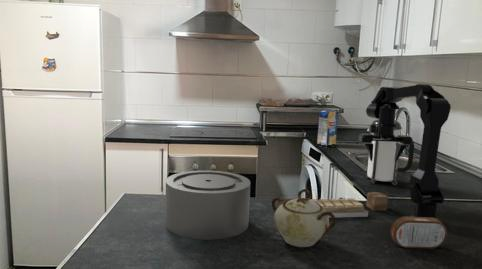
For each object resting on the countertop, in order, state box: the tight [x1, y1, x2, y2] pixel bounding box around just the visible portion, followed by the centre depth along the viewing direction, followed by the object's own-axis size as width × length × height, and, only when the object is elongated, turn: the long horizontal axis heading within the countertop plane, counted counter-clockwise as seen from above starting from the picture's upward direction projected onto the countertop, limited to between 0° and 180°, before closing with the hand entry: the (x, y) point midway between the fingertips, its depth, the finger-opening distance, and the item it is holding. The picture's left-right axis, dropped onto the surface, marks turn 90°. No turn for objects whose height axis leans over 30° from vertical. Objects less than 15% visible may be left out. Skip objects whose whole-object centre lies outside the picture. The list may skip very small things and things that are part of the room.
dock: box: [328, 209, 369, 219], centre depth 141 cm, size 9×19×2 cm, turn 101°
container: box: [164, 170, 251, 241], centre depth 126 cm, size 25×25×13 cm
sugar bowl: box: [271, 188, 337, 248], centre depth 116 cm, size 20×15×15 cm
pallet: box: [310, 198, 365, 211], centre depth 141 cm, size 7×17×2 cm, turn 101°
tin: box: [389, 216, 448, 250], centre depth 116 cm, size 15×3×8 cm, turn 92°
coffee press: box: [364, 119, 415, 186], centre depth 183 cm, size 17×16×30 cm
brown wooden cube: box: [366, 191, 389, 211], centre depth 148 cm, size 5×5×5 cm
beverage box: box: [316, 110, 339, 146], centre depth 266 cm, size 7×11×22 cm, turn 136°
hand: (383, 161), depth 160 cm, fingers open, 9 cm apart
